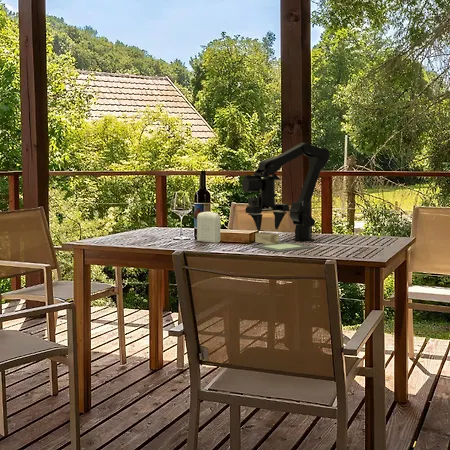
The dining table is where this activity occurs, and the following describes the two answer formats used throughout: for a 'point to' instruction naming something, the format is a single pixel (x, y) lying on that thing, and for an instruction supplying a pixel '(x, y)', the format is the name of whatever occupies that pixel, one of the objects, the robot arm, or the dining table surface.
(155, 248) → the dining table surface
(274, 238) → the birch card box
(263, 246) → the rubber mat
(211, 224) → the soap bar
